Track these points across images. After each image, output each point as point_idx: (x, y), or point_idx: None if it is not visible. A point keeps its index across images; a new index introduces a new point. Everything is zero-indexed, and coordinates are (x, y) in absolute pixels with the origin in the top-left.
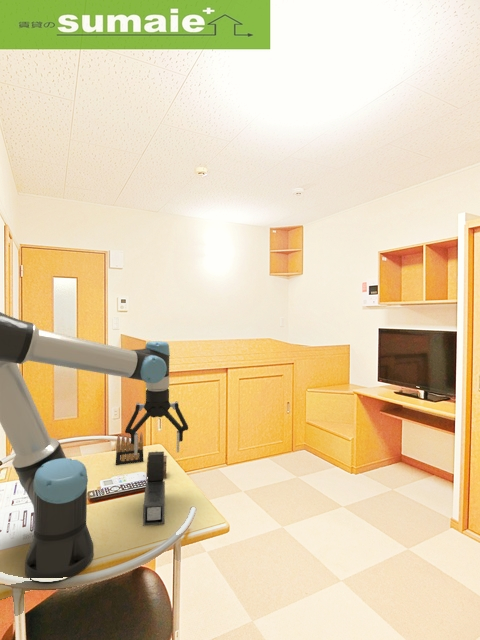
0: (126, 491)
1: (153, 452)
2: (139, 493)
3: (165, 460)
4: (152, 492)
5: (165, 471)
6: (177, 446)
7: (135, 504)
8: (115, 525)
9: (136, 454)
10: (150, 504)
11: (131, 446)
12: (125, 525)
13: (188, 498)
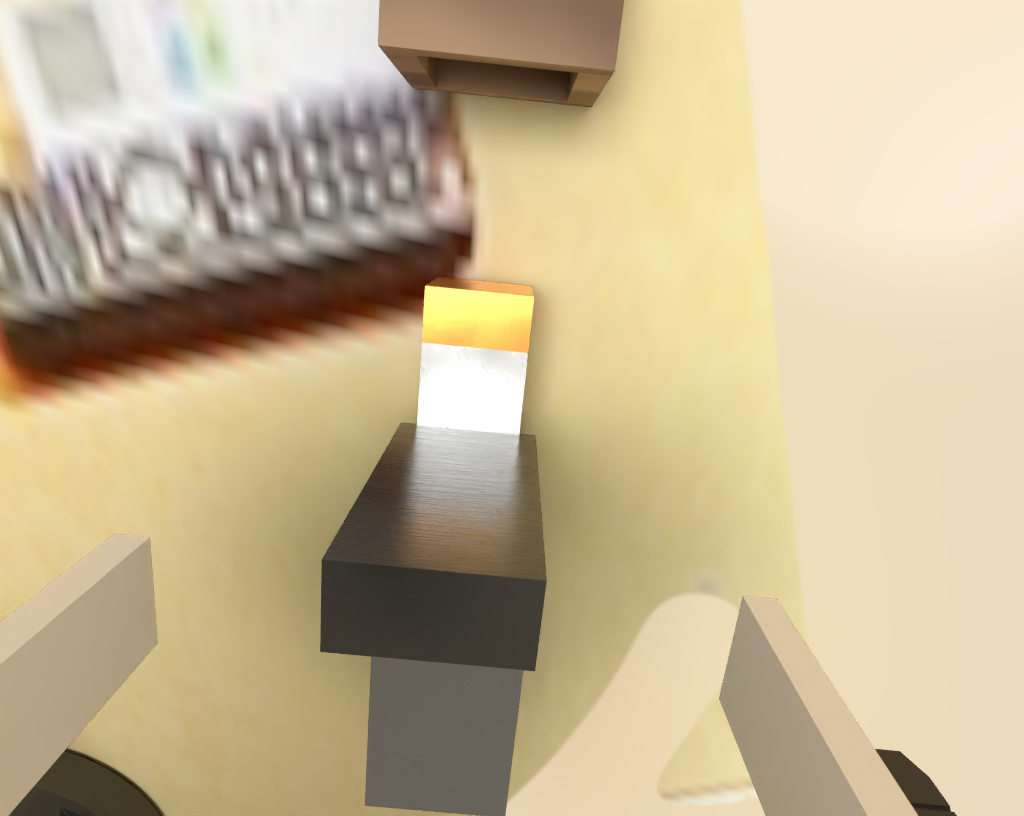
0: (254, 276)
1: (393, 583)
2: (358, 334)
3: (605, 43)
4: (428, 671)
5: (591, 93)
6: (756, 772)
7: (337, 480)
8: (240, 667)
9: (150, 648)
10: (411, 807)
11: None
12: (295, 679)
13: (703, 490)
